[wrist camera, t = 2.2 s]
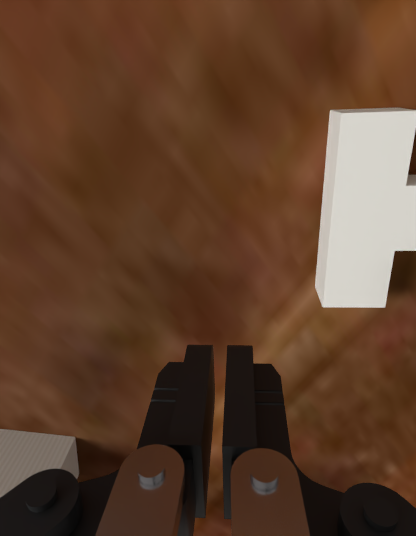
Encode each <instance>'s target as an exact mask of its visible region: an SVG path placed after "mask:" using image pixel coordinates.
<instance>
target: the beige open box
mask: <svg viewBox="0 0 416 536" xmlns="http://www.w3.org/2000/svg"><path fill="white" fill-rule="evenodd" d="M47 469H63V470H66V471H69V472H70V473H72V474H73V475H74V476H75V478H76V479H77V478H78V476H79V467H78V458H77V448H76V439H75V437H70V436H61V435H52V434H43V433H34V432H24V431H15V430H6V429H0V498H1V497H2V496H3V495H5V494H6V493H7V492H9V491H10V490H12V489H13V488H14V487H16V486H17V485H18V484H20V483H21V482H23V481H24V480H25V479H27V478H28V477H30V476H32V475H34V474H36V473H38V472H40V471H43V470H47Z"/></svg>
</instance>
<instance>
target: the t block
mask: <svg viewBox="0 0 416 536" xmlns="http://www.w3.org/2000/svg"><path fill="white" fill-rule="evenodd" d="M415 130H416V110H411V109H404V108H374V109H344V110H330V117H329V128H328V140H327V152H326V164H325V175H324V187H323V199H322V211H321V222H320V234H319V246H318V258H317V269H316V281H315V288H316V291H317V293H318V296H319V299H320V301H321V304H322V307H378V308H385V305H386V299H387V293H388V287H389V282H390V276H391V270H392V264H393V258H394V252H395V251H416V175H408V171H409V165H410V159H411V153H412V148H413V142H414V136H415Z"/></svg>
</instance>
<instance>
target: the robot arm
mask: <svg viewBox="0 0 416 536" xmlns="http://www.w3.org/2000/svg"><path fill="white" fill-rule="evenodd" d="M214 403H215V383H214V355H213V345H188V346H187V349H186V354H185V359H184V362H169V363H168V364H167V365H166V366H165V367H164V368H163V369H162V371H161V372H160V373H159V374H158V377H157V381H156V384H155V390H154V391H153V395H152V398H151V402H150V405H149V409H148V412H147V416H146V419H145V423H144V426H143V430H142V433H141V437H140V440H139V444H138V447H137V450H135V451H134V452H132V453H131V454H130V455H129V456H128V457H127V458H126V459H125V460H124V462H123V463H122V465H121V467H120V469H119V470H117V471H116V472H114V473H111V474H109V475H106V476H103V477H100V478H96V479H92V480H88V481H84V482H80V483H78V482H77V479H76V478H75V476H74V475H73V474H72V473H70V472H69V471H66V470H63V469H47V470H43V471H40V472H38V473H36V474H34V475H32V476H30V477H28V478H27V479H25V480H24V481H23V482H21V483H20V484H18V485H17V486H16V487H14V488H13V489H12V490H10V491H9V492H7V493H6V494H5V495H3V496H2V497H1V498H0V536H193V532H194V522H195V517H196V518H205V515H206V503H207V491H208V479H209V466H210V454H211V442H212V430H213V417H214ZM222 454H223V489H224V519H231V529H232V536H416V508H415V507H413V506H412V505H411V504H410V503H409V502H408V501H406V500H405V499H404V498H403V497H402V496H400V495H399V494H398V493H396V492H395V491H393V490H391V489H389V488H387V487H385V486H382V485H379V484H374V483H360V484H357V485H354V486H352V487H350V488H349V489H348V490H347V491H346V492H345V493H342V492H340V491H337V490H334V489H331V488H328V487H325V486H322V485H320V484H318V483H316V482H314V481H312V480H311V479H309V478H308V477H307V476H305V475H304V474H303V473H302V472H301V471H300V470H299V468H298V467H297V466H296V464H295V462H294V460H293V458H292V455H291V450H290V442H289V435H288V428H287V420H286V413H285V406H284V398H283V393H282V384H281V377H280V375H279V374H278V372H277V371H276V370H275V368H274V367H273V366H272V364H253V347H252V346H244V345H228V346H227V363H226V383H225V402H224V422H223V442H222Z"/></svg>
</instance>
